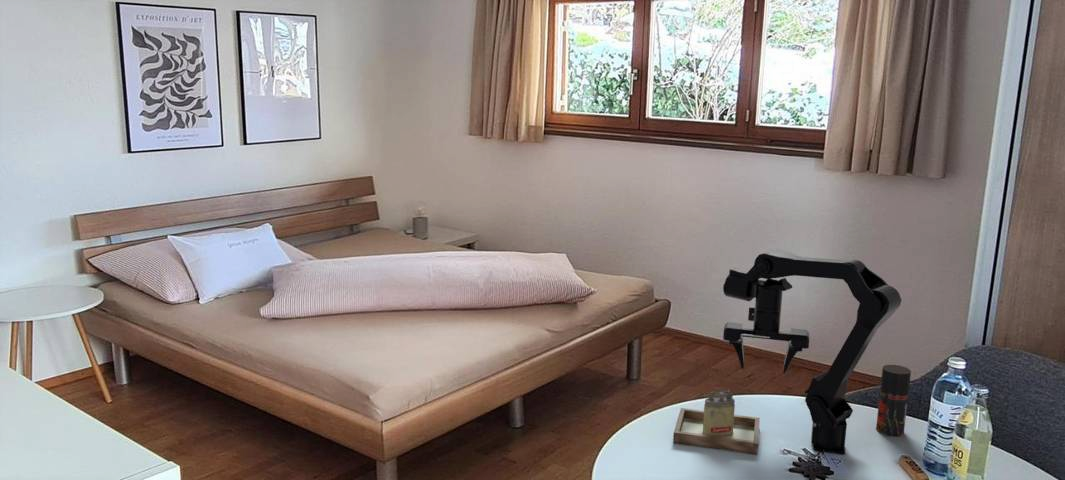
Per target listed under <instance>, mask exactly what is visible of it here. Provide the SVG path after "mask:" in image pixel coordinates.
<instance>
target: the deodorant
mask: <svg viewBox="0 0 1065 480" xmlns="http://www.w3.org/2000/svg"><path fill="white" fill-rule="evenodd" d="M911 373H912V370H911V369H910V368H908V367H906V366H903V365H898V364H885V365H883V366H882V369H881V380H880V389H879V399H878V408H877V415H876V416H877V418H876V428H875V430H876V431H877V432H878V433H880V434H881V435H883V436H884V435H885V436H888V437H893V438H895V437H896V438H897V437H902V436H904V434H905V427H906V426H905V425H906V416H907V408H908V401H909V392H910V384H911V382H910V381H911Z"/></svg>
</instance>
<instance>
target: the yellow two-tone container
mask: <svg viewBox="0 0 1065 480" xmlns="http://www.w3.org/2000/svg"><path fill="white" fill-rule="evenodd" d="M733 395H734V394H733V393H732V392H731V390H729V389H726V391H725V390H724V391H710V392H709V397H708V398H706V399H705V401H704V406H703V407H704V408H703V411H704V420H703V432H702V433H703V434H704V435H712V436H730V435H732V434H733V424H734V415H735V407H736V404H735V402H736V401H735V399H734V396H733Z"/></svg>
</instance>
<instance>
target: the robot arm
mask: <svg viewBox="0 0 1065 480" xmlns="http://www.w3.org/2000/svg"><path fill="white" fill-rule="evenodd" d="M753 263H754V264H753V266H752V267H751V268H750V269H749V271H746V270H742V269H740V268H735V267H734V268H731V269H729V272H728V273H729V274H728V275H727V276H726V278H725V281H724V283H723V287H722V289H723V294H724V296H725V297H728V298H733V299H737V300H741V301H745V302H751V301H752V300H753V299H755V302H754V307H752V306H749V307H748V316H747V321H748V322H753V328H752V329H751V328H744V327H743V323H739V322H729V321H727V322H726V323H725V324H724V327H723V336H722V339H723V340H724V341H728V344H729V345H731V346H733V348H734V350H735V352H736V354H737V357H738V360H739V364H740V368H741V369H742V370H743V369H744V367H745V355H744V353H745V352H744V338H753V339H762V340H770V341H771V340H773V341H785V342H787V347H786V348H787V349H786V351H785V352H786V353H785V357H784V360H783V367H782V368H783V369H782V374H786V372H787V370H788V369H789V365H790V363H792V360H793V359H794V357H795V356H796V354H798V352H800V353H801V352H802V351H803V349H806V350H807V349H809V347H810V346H809V345H810V333H809V331H808V330H807V329H800V328H791V329H790V332H786V331H785V332H783V331H780V328H781V315H782V313H781V312H782V303H783V302H782V301H783V292H787V291H789V290H791V289H792V288H793V285H792V284H791V283H790V282H789V280H787V278H786V277H790V276H791V277H793V276H794V277H796V276H798V277H806V278H807V277H809V278H810V277H811V278H821V279H830V280H831V279H834V280H843V281H844V282H845V283H846V285H847V286H848V288H849V291H850V292H851V295H852V296H853V298H855V299H856V301H857V302H858V303H859V305H858V308H857V311H856V321H855V324H854V326H853V327H852V329H851V331H850V333H849V335H848V336H847V337H846V340H845V341H844V342H843V345H842V347H841V349H840V350H839V352H838V353H837V355H836V357H835V359H834V360H833V362H832V364H831V366H830V367H829V369H828V371H824V372H822V373H820V374H818V375H816V376H814V377H813V378H812V379H811V382H810V384H809V387H808V388H807V389H806V390H805V391H804V393H805V394H806V395H805V398H804V399H805V400H804V402H805V403H806V404H805V405H806V406H807V408H808V410H809V413H810V417H811V421H812V422H811V423H812V425H811V426H812V427H811V435H810V440H811V442H810V443H811V445H812V446H813V450H814V451H819V452H826V453H835V454H841V455H845V454H846V448H845V446H846V435H847V428H848V427H847V425H848V424H847V419H850V418H851V416H852V414H853V412H854V410H853V408H852V407H851V405H850V404H849V402H848V401H847V399H846V398H845V396H846V393H847V390H848V388H847V387H848V381H849V378H850V377H851V375H852V373H853V371H854V370H855V368H856V366H857V365H858V363H859V362H860V359H861V358H862V356H863V354H864V353H865V351H866V349H867V348H868V346H869V345H870V343H871V341H872V340H873V337H874V336H875V334H876V332H877V331H878V329H879V328H880V327H882V325H884V324H885V322H886V321H888V320H889V319H890V318H891V317H892V316H893V315H894V313H895V312H896V311H897V310H898V309H899V307H901V304H902V298H901V295H900V293H899V292H898V290H897V289H896V288H895V287H894V286H891V285H889V284H888V283H887V282H886V281H885V280H884V279H883V278H882V277H880V276H879V275H877V274H876V273H875V272H873V271H872V270H870V269H869V268H868V267H867V266H866V265H865V263H863V262H862V261H861V260H859V259H851V260H849V259H835V258H834V259H833V258H820V257H808V256H806V257H804V256H798V255H796V254H793V253H792V252H789V251H786V250H785V251H784V250H780V249H773V250H770V251H767V252H764V253H760V254H758V255H757V257H756V258H755V260H754V261H753ZM779 278H780V279H779ZM762 279H763V280H762ZM764 279H765V280H764Z"/></svg>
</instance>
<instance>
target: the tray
mask: <svg viewBox="0 0 1065 480" xmlns="http://www.w3.org/2000/svg"><path fill="white" fill-rule="evenodd" d="M760 419H761V418H760V417H756V416H748V415H739V414H734V424H733V434H732V435H730V436H712V435H704V434H703V433H702V432H703V420H704V410H701V409H700V410H699V409H694V408H693V409H692V408H685V407H680V410H679V413H678V417H677V419H676V423H675V427H674V430H673V437H672V438H673V439H672V444H674V445H675V444H676V445H683V446H690V447H697V448H704V449H712V450H719V451H725V452H727V451H728V452H734V453H741V454H748V455H754V456H755V455H756V456H757V455H758V452H759V451H758V450H759V437H760V434H759V433H760Z"/></svg>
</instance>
